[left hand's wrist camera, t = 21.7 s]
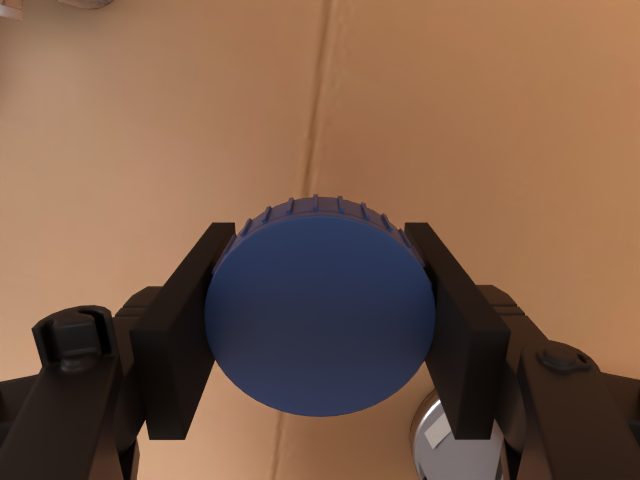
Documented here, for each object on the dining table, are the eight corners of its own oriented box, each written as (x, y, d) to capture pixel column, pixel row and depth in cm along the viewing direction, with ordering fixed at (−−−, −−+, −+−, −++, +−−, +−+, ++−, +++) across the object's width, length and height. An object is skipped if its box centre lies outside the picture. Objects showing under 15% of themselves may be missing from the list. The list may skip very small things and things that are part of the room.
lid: (356, 405, 13) (361, 449, 12) (184, 329, 12) (163, 365, 11) (465, 256, 11) (488, 284, 10) (273, 152, 10) (265, 165, 9)
